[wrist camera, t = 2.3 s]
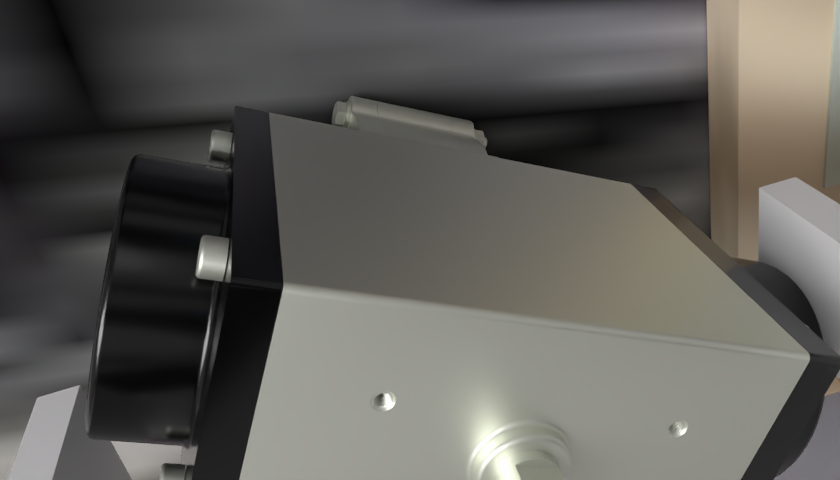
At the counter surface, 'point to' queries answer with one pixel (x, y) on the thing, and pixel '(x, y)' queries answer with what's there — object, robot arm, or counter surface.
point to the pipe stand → (770, 109)
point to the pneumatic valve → (436, 317)
